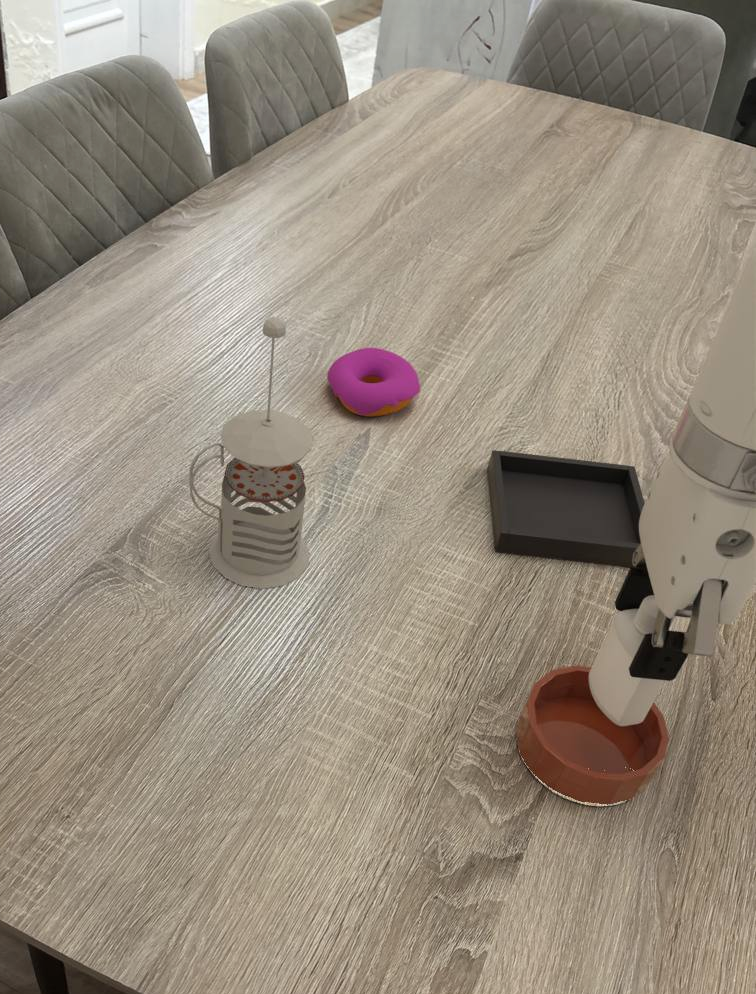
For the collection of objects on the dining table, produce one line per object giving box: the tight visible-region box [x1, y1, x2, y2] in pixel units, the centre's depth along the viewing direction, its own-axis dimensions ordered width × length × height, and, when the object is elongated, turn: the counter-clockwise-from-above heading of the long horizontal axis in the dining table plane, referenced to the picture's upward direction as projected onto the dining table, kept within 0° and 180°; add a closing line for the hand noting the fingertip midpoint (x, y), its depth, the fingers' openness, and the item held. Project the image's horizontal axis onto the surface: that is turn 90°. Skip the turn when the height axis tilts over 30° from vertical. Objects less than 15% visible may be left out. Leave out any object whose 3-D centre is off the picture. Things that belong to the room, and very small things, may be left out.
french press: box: [188, 316, 314, 590], centre depth 82 cm, size 10×12×25 cm
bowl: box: [515, 665, 670, 805], centre depth 76 cm, size 11×11×4 cm
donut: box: [326, 347, 421, 417], centre depth 110 cm, size 10×10×5 cm
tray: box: [486, 449, 645, 568], centre depth 98 cm, size 16×14×3 cm
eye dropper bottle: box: [589, 595, 676, 726], centre depth 69 cm, size 4×6×12 cm
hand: (643, 640), depth 68 cm, fingers closed on eye dropper bottle, 5 cm apart
